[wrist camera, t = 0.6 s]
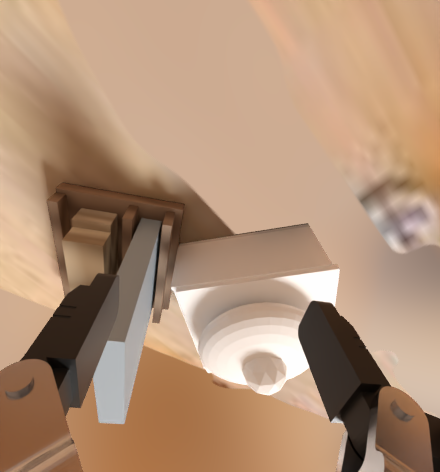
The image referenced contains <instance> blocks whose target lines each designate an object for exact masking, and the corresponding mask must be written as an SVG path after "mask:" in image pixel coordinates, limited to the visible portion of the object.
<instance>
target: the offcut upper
mask: <svg viewBox="0 0 440 472" xmlns="http://www.w3.org/2000/svg"><path fill="white" fill-rule="evenodd" d="M62 246H63V252H64V258H65V264H66V270H67V276H68V282H69V288H70V292H71V291H72V290H73V289H75V288H76V287H78V286H79V285H87V286H90V284H91V283H92V281H93V279H94V278H95V276H96V275H97V274H98V273H103V274H111V275H112V259H111V233H110V232H103V231H97V230H90V229H84V228H77V227H72V228H71V229H70V231H69V232H68V233H67V234H66V235H65V237H64V238H63V239H62Z"/></svg>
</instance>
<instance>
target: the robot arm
mask: <svg viewBox="0 0 440 472" xmlns="http://www.w3.org/2000/svg"><path fill="white" fill-rule="evenodd" d="M118 309H119V276H118V275H111V274H103V273H98V274H97V275H96V276H95V278H94V279H93V281H92V283H91V284H90V286H87V285H79V286H78V287H76V288H75V289H73V290H72V291H71V292H69V293H68V294H67V295H66V297H65V298H64V299H63V301H62V302H61V304H60V306H59V307H58V308H57V309H56V311H55V312H54V314H53V317H51V318H50V320H49V321H48V322H47V324H46V325H45V327H44V328H43V330H42V331H41V332H40V334H39V335H38V337H37V338H36V340H35V341H34V343H33V344H32V345H31V347H30V348H29V350H28V351H27V353H26V354H25V356H24V357H23V358H22V359H21V360H20V361H19V362H16V363H13V364H11V365H9V366H7V367H6V368H4V369H3V370H1V371H0V472H83V470H82V467H81V463H80V459H79V456H78V453H77V449H76V446H75V443H74V441H73V440H72V438H71V435H70V432H69V428H68V425H67V421H66V414H67V412H68V410H69V408H70V407H75V408H81V405H82V403H83V400H84V398H85V396H86V393H87V391H88V388H89V386H90V383H91V381H92V378H93V376H94V373H95V371H96V368H97V366H98V363H99V361H100V358H101V356H102V353H103V351H104V348H105V346H106V343H107V341H108V338H109V336H110V333H111V331H112V328H113V326H114V323H115V321H116V318H117V314H118ZM298 338H299V341H300V344H301V346H302V349H303V352H304V354H305V357H306V359H307V362H308V365H309V367H310V370H311V372H312V375H313V378H314V380H315V383H316V385H317V388H318V391H319V393H320V396H321V399H322V401H323V404H324V406H325V409H326V412H327V414H328V417H329V419H330V422H331V423H344V425H345V428H346V431H345V432H344V434H343V437H342V442H341V447H340V452H339V457H338V462H337V468H336V472H440V419H439V418H437V417H434V416H432V415H429V414H427V413H424V412H423V410H422V409H421V407H420V406H419V405H418V404H417V403H416V402H415V401H414V400H413V399H412V398H411V397H410V396H409V395H407V394H406V393H404V392H403V391H401V390H399V389H397V388H394V387H391V385H390V384H389V382H388V381H387V379H386V378H385V376H384V375H383V373H382V371H381V370H380V368H379V367H378V365H377V364H376V362H375V360H374V359H373V357H372V356H371V354H370V353H369V351H368V350H367V349H366V346H365V345H364V343H363V342H362V340H360V337H359V335H358V334H357V332H356V331H355V329H354V328H353V326H352V325H351V324H350V323H349V322H347V320H346V319H345V318H344V317H342V316H340V315H339V313H338V312H337V310H336V308H335V307H334V305H333V304H332V303H330V302H323V301H315V300H314V301H311V302H310V304H309V306H308V308H307V310H306V312H305V314H304V316H303V318H302V320H301V322H300V324H299V327H298Z"/></svg>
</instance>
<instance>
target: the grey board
mask: <svg viewBox="0 0 440 472" xmlns="http://www.w3.org/2000/svg"><path fill="white" fill-rule="evenodd" d="M161 226H162V221H158V220H152V219H145V218H141V220H140V223H139V225H138V227H137V229H136V232H135V234H134V236H133V239H132V241H131V243H130V245H129V248H128V250H127V252H126V254H125V257H124V259H123V261H122V263H121V266H120V268H119V270H118V272H117V275H118V276H119V309H118V314H117V318H116V321H115V323H114V326H113V328H112V331H111V333H110V336H109V338H108V341H107V343H106V346H105V348H104V351H103V353H102V356H101V358H100V361H99V363H98V366H97V368H96V371H95V373H94V376H93V381H94V389H95V396H96V404H97V412H98V419H99V423H115V424H124V423H125V419H126V414H127V410H128V406H129V402H130V398H131V394H132V389H133V385H134V381H135V377H136V373H137V369H138V364H139V360H140V356H141V352H142V348H143V344H144V339H145V335H146V331H147V327H148V323H149V319H150V314H151V310H152V306H153V302H154V296H155V286H156V276H157V266H158V256H159V246H160V236H161Z"/></svg>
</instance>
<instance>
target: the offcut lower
mask: <svg viewBox="0 0 440 472" xmlns="http://www.w3.org/2000/svg"><path fill="white" fill-rule="evenodd" d="M72 225H73V227H77V228H84V229H90V230H97V231H103V232H110V233H111V259H112V275H117V272H118V225H117V214H115V213H109V212H103V211H97V210H91V209H85V208H81V209H80V210H79V211H78V212H77V214H76V215H75V216H74V217H73V218H72Z"/></svg>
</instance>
